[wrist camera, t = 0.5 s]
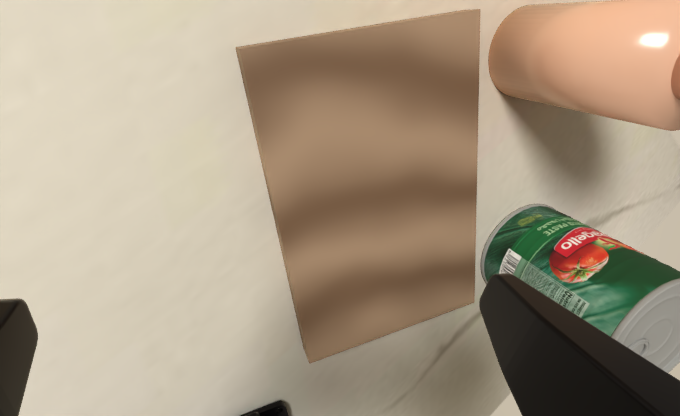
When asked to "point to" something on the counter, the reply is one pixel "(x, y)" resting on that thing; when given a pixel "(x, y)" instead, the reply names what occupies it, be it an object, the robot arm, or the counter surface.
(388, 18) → the counter surface
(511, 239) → the canned tomato
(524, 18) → the pink bottle
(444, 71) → the walnut board
